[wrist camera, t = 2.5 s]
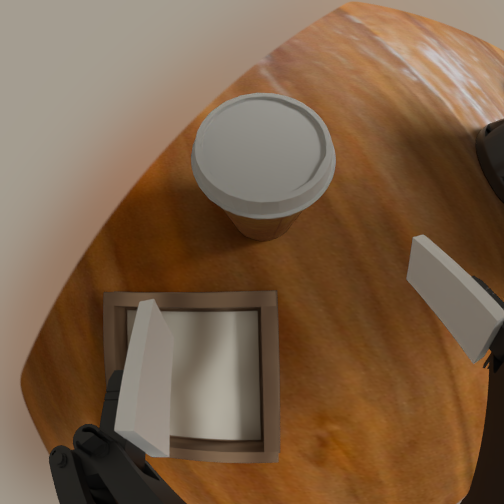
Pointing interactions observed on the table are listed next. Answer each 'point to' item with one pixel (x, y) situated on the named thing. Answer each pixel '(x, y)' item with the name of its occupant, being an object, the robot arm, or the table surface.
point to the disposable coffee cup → (263, 161)
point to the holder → (212, 370)
